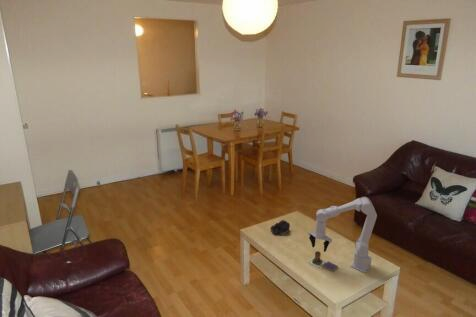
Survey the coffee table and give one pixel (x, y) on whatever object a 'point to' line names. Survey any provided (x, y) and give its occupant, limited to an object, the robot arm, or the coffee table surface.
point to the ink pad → (330, 266)
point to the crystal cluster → (280, 228)
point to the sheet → (315, 264)
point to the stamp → (317, 258)
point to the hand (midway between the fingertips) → (319, 248)
